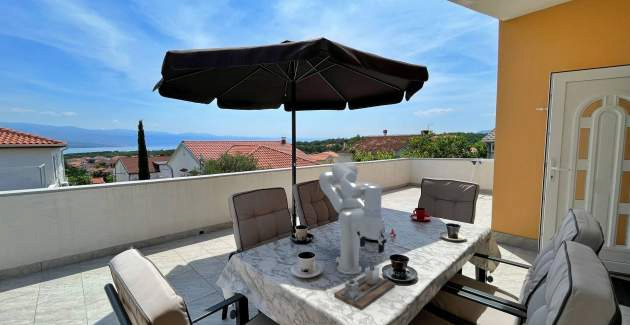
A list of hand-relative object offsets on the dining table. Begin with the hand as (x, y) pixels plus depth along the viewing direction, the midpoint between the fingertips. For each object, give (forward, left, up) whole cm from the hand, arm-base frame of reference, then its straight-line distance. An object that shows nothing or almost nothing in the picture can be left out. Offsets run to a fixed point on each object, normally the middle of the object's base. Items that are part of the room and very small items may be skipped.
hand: (371, 249), depth 125 cm
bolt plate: (+1, -5, -17) cm, 18 cm away
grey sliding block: (+1, 0, -15) cm, 15 cm away
